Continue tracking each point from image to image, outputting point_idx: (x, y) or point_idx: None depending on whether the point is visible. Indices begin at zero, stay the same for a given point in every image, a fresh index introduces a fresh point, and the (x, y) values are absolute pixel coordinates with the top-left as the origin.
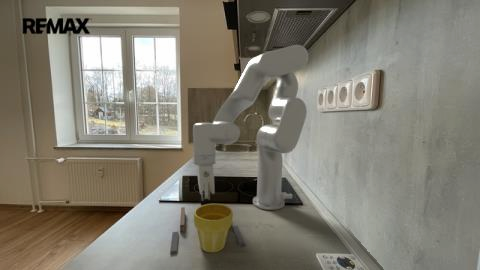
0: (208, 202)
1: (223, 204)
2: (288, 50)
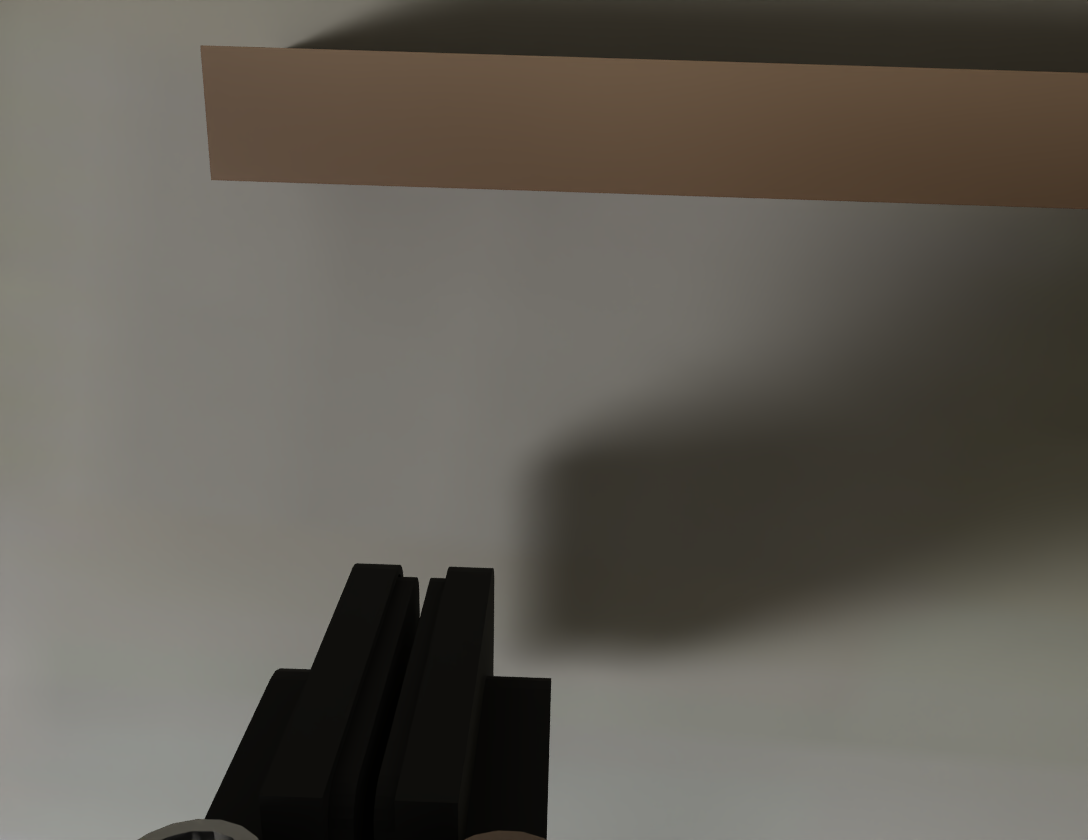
0: (472, 782)
1: (229, 101)
2: None
